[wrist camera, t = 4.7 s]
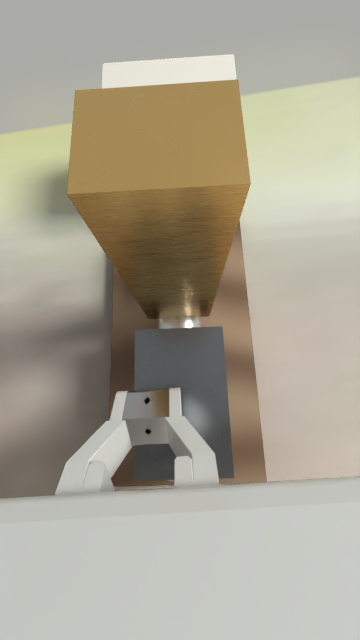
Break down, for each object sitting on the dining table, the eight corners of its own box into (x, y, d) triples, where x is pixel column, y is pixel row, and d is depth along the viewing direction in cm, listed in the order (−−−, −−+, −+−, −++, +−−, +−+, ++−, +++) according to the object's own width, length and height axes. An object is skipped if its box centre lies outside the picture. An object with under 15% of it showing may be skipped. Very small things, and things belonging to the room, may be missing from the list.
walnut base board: (262, 477, 18) (266, 482, 17) (111, 481, 19) (107, 486, 18) (229, 151, 25) (231, 141, 24) (119, 157, 25) (117, 148, 24)
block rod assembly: (215, 464, 17) (327, 819, 3) (155, 465, 17) (15, 817, 3) (200, 230, 21) (222, -50, 7) (152, 232, 21) (85, -39, 7)
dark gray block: (222, 451, 18) (234, 478, 13) (148, 453, 18) (133, 480, 13) (214, 339, 20) (222, 326, 15) (148, 342, 20) (134, 330, 15)
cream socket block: (226, 200, 23) (241, 123, 16) (126, 206, 23) (99, 132, 16) (221, 146, 24) (233, 54, 17) (127, 152, 24) (103, 63, 18)
